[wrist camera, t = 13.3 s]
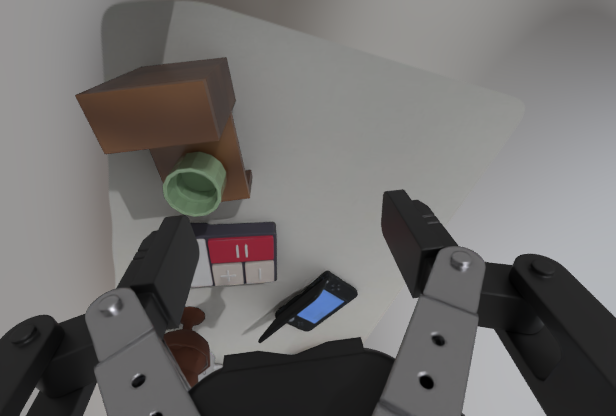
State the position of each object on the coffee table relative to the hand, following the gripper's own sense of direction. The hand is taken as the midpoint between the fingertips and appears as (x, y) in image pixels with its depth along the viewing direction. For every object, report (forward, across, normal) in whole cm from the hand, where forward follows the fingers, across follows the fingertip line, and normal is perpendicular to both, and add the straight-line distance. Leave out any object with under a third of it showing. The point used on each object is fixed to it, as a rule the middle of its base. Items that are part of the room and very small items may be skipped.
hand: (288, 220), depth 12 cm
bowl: (+24, +11, +9) cm, 27 cm away
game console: (+30, 0, +41) cm, 51 cm away
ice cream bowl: (+30, +24, +42) cm, 57 cm away
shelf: (+30, +11, +5) cm, 32 cm away
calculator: (+30, +12, +26) cm, 41 cm away
